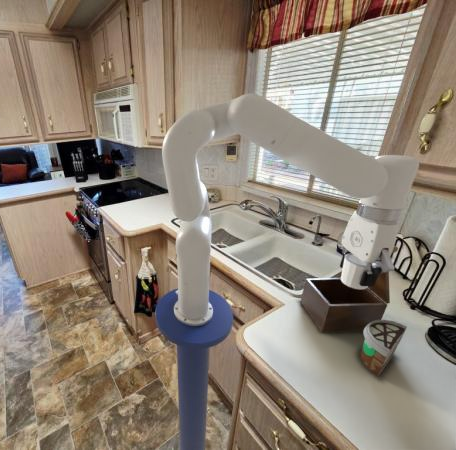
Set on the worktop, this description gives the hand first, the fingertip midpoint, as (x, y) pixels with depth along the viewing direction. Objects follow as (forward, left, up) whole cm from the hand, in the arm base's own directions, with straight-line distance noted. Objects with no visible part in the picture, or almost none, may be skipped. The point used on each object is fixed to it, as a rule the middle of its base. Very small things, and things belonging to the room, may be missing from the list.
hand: (355, 275), depth 64 cm
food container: (+9, 0, -21) cm, 22 cm away
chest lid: (-2, +11, -3) cm, 12 cm away
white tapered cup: (0, 0, -2) cm, 2 cm away
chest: (-4, +7, -21) cm, 22 cm away
